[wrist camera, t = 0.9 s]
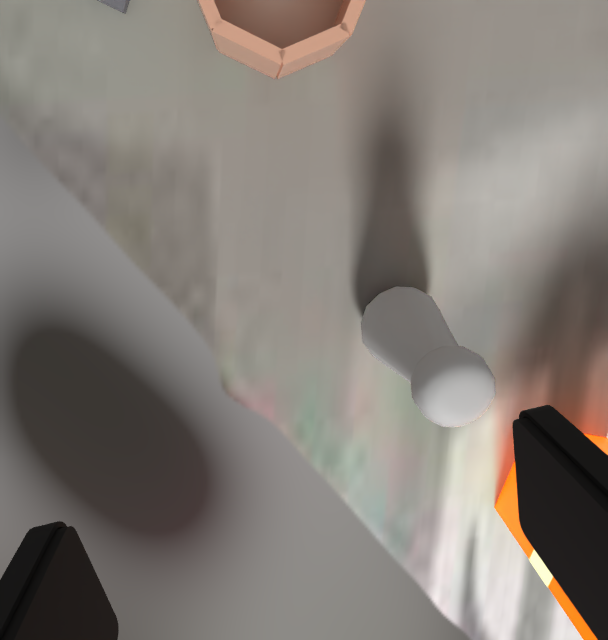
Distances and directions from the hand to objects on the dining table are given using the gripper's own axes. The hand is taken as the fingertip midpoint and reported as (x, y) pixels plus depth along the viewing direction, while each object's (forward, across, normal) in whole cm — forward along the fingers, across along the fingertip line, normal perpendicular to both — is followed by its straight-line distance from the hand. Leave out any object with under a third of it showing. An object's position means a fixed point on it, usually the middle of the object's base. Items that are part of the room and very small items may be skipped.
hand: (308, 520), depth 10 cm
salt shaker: (+26, -8, +7) cm, 28 cm away
